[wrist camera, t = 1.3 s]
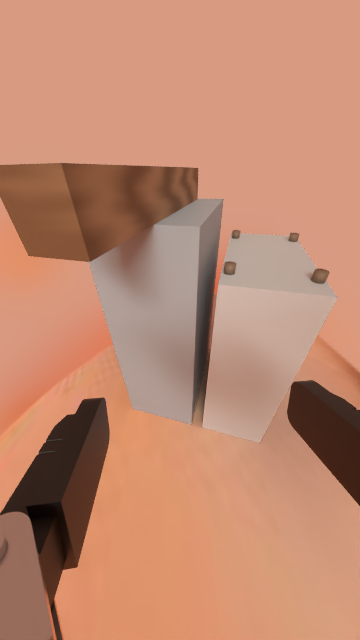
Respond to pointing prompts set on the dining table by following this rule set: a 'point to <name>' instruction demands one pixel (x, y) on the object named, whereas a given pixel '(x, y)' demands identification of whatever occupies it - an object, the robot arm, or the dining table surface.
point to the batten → (90, 204)
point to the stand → (195, 318)
